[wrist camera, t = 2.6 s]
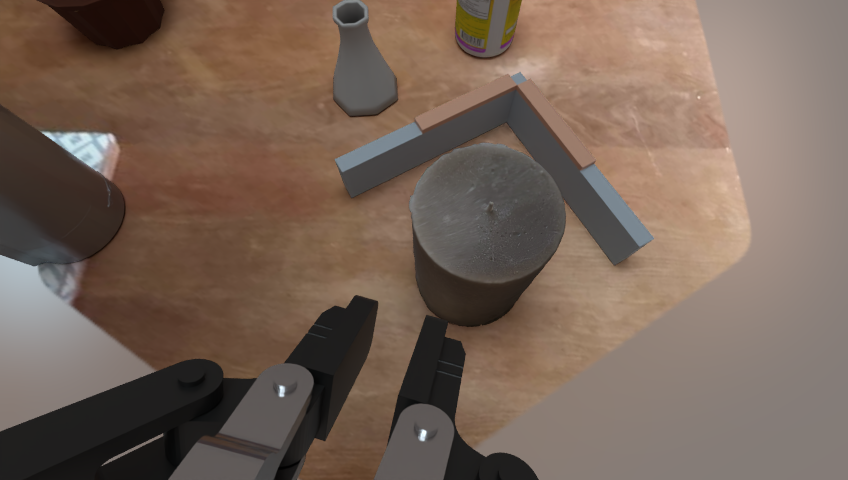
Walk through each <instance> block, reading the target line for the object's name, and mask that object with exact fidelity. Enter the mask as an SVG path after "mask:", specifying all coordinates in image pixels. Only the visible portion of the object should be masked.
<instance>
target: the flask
mask: <svg viewBox="0 0 848 480" xmlns="http://www.w3.org/2000/svg"><path fill="white" fill-rule="evenodd" d="M333 20H334V22H335V23H336V24H337V25H338V27H339V32H340V48H339V54H338V59H337V64H336V68H335V72H334V77H333V99H334V100H335V101H336V102H337V104H338V105H339V106H340V107H341V108H342V109H343V110H344V111H345V112H346V113H347V114H348V115H349V116H359V115H374V114H378V113H380V112H381V111H382V110H384V109H385V108H387V107H388V106H390V105H391V104H392V103H394V102H395V101H397V100H398V94H397V78H396V76H395V75H394V73H393V72H392V70H391V69H390V67H389V66H388V64H387V63H386V61H385V60H384V58H383V57H382V55H381V53H380V52H379V50H378V48H377V47H376V45H375V44H374V42H373V40H372V37H371V34H370V32H369V29H368V26H367V23H368V7H367V6H366V5H365V4H364V3H363V2H362V1H360V0H343V1H342V2H340V3H338V4H337V5H335V6H333Z"/></svg>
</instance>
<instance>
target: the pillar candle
mask: <svg viewBox="0 0 848 480" xmlns="http://www.w3.org/2000/svg"><path fill="white" fill-rule="evenodd" d="M410 197H411V199H410V201H409V209H410V212H412V214H411V218H412V228H413V244H414V245H413V248H414V257H415V270H416V281H417V284H418V288H419V291H420V294H421V296H422V297H423V299H424V301H425V303H426V305H427V307H428V308H429V309H430V310H431V311H432V312H434V313H435V314H436V315H437V316H438V317H440V318H442V319H444V320H447V321H448V322H450V323H452V324H456V325H459V326H467V327H474V326H480V325H486V324H489V323H491V322H494V321H496V320H498V319H499V318H501V317H502V316H504V315H505V314H506V313H507V312H508V311H509V310H510V309H511V308H512V307H513V305H514V303H515V302H516V301H517V300H518V299H519V297H520V295H521V294H522V293H523V292H524V290H525V289H526V288H527V287H528V286H529V285H530V284H531V282H532V281H533V280H534V278H535V277H536V276H537V275H538V274H539V273H540V271H541V270H542V269H543V268H544V266H545V265H546V264H547V262H548V261H549V260H550V259H551V257H552V256H553V255H554V253H555V252H556V250H557V248H558V246H559V244H560V242H561V239H562V237H563V234H564V230H565V223H566V212H565V204H564V201H563V197H562V195H561V192H560V190H559V188H558V186H557V185H556V182H555V181H554V179H553V178H552V176H551V175H550V174H549V173H548V172H547V171H546V170H545V169H544V168H543V167H542V166H541V165H540V164H538V163H537V162H536V161H534V160H533V159H531V157H528V156H527V155H525V154H523V153H521V152H518V151H516V150H513V149H511V148H508V147H507V146H505V145H503V144H496V145H494V144H492V143H480V144H478V145H477V144H473V145H472V146H468V147H464V148H457V149H453V151H452V152H451V153H449V154H444V155H442V156H441V157H440V158H439V159H438V160H437V161H435V162H434V163H433V164H432V165H431V166H430V167H428V168H427V169H426V171H425V172H424V174H423V175H422V177H421V178H420V180H419V181H418V183H417V185H416V188H415V191H414V194H413V196H410Z"/></svg>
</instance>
